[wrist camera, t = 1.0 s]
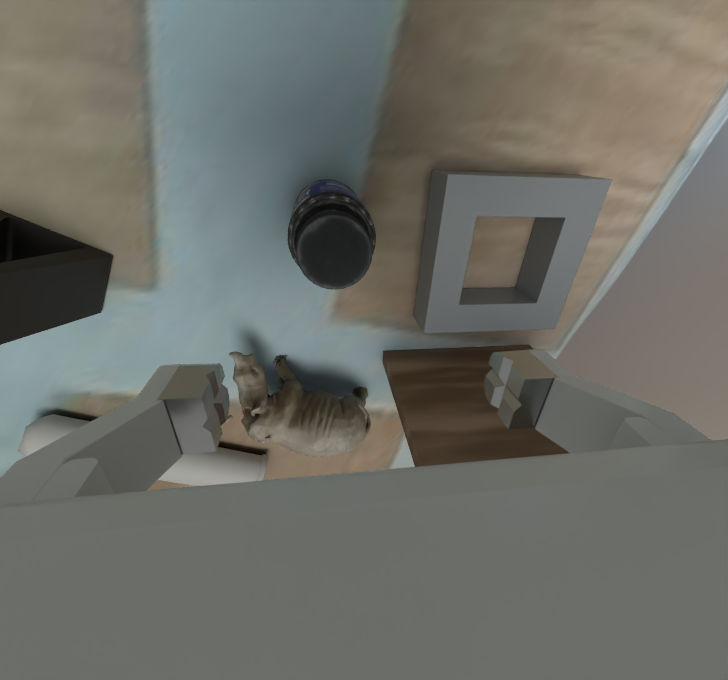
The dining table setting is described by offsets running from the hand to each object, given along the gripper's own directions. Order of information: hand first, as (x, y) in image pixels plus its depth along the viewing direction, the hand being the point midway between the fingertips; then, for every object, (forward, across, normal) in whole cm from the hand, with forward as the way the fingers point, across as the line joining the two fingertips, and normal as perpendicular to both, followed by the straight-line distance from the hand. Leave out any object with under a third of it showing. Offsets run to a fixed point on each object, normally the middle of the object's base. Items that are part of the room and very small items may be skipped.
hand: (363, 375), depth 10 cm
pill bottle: (+23, 0, -1) cm, 23 cm away
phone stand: (+23, +24, +3) cm, 34 cm away
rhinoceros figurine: (+24, +4, +17) cm, 29 cm away
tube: (+24, +21, +26) cm, 41 cm away
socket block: (+23, -16, +2) cm, 28 cm away
